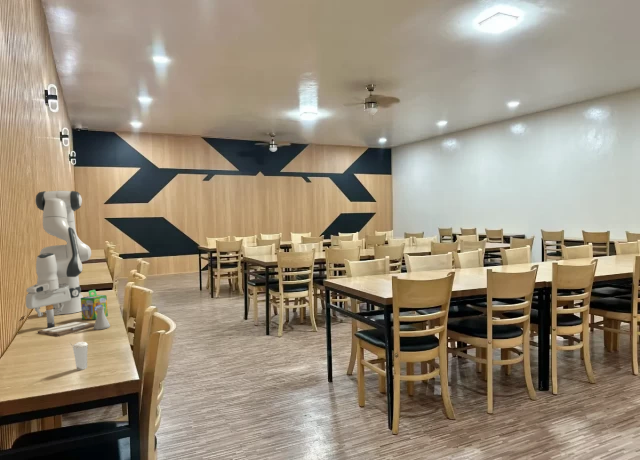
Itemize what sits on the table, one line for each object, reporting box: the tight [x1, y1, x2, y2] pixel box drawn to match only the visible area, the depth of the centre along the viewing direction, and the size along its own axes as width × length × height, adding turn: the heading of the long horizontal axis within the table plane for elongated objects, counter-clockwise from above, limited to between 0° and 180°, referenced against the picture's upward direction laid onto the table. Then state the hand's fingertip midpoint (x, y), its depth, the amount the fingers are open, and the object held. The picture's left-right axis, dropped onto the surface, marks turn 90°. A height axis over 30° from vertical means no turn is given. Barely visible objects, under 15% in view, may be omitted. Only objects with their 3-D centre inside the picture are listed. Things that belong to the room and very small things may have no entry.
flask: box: [92, 307, 111, 331], centre depth 207 cm, size 7×7×10 cm
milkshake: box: [70, 341, 89, 371], centre depth 150 cm, size 4×5×10 cm
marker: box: [45, 305, 56, 329], centre depth 215 cm, size 3×3×12 cm
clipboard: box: [37, 320, 95, 337], centre depth 208 cm, size 17×19×2 cm
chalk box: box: [80, 289, 109, 321], centre depth 231 cm, size 9×9×15 cm
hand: (50, 314), depth 214 cm, fingers open, 8 cm apart
